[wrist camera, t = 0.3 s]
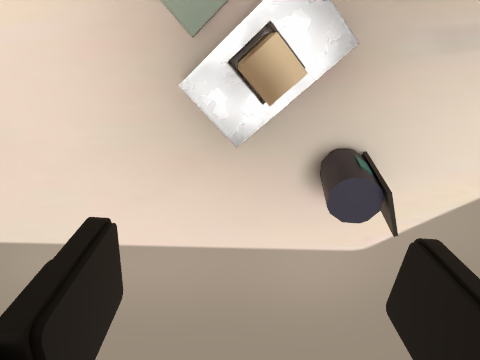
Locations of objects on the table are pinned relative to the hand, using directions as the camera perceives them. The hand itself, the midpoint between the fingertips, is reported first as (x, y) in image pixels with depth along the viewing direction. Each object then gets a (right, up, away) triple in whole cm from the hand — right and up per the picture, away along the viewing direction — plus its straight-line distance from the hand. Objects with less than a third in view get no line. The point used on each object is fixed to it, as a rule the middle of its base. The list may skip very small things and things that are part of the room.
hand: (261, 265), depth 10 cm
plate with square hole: (+2, +16, +23) cm, 28 cm away
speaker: (+13, +4, +29) cm, 32 cm away
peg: (+2, +16, +23) cm, 28 cm away
